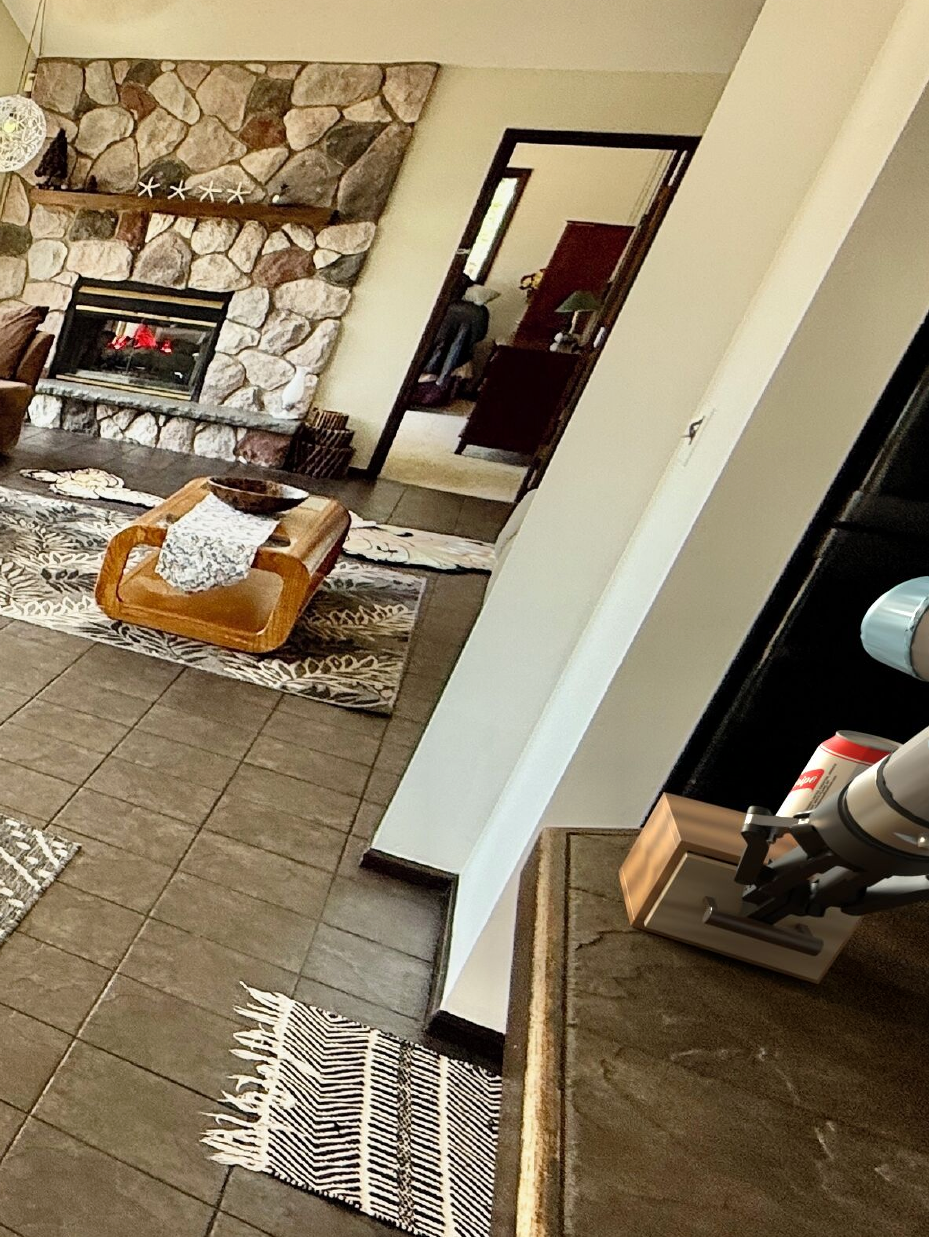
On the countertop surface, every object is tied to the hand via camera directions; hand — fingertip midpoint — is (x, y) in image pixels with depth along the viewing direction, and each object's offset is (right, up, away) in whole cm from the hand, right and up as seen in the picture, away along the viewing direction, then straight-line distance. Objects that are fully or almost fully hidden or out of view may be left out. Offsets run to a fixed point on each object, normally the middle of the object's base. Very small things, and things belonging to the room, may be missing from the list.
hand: (753, 913), depth 105 cm
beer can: (+27, +1, +21) cm, 34 cm away
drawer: (+3, -3, +6) cm, 7 cm away
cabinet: (+6, -3, +9) cm, 12 cm away
